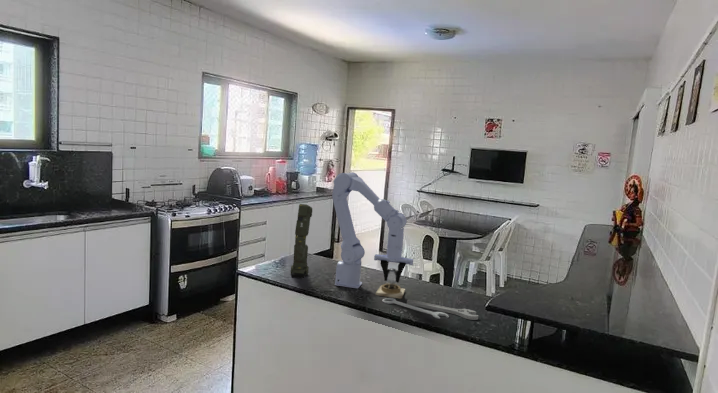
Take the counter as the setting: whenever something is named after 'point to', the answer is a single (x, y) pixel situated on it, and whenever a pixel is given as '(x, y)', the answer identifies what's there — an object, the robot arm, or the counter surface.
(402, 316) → the counter surface
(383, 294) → the socket
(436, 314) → the wrench
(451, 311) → the adjustable wrench
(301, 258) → the mechanical leg
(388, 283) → the clear glass cylinder
